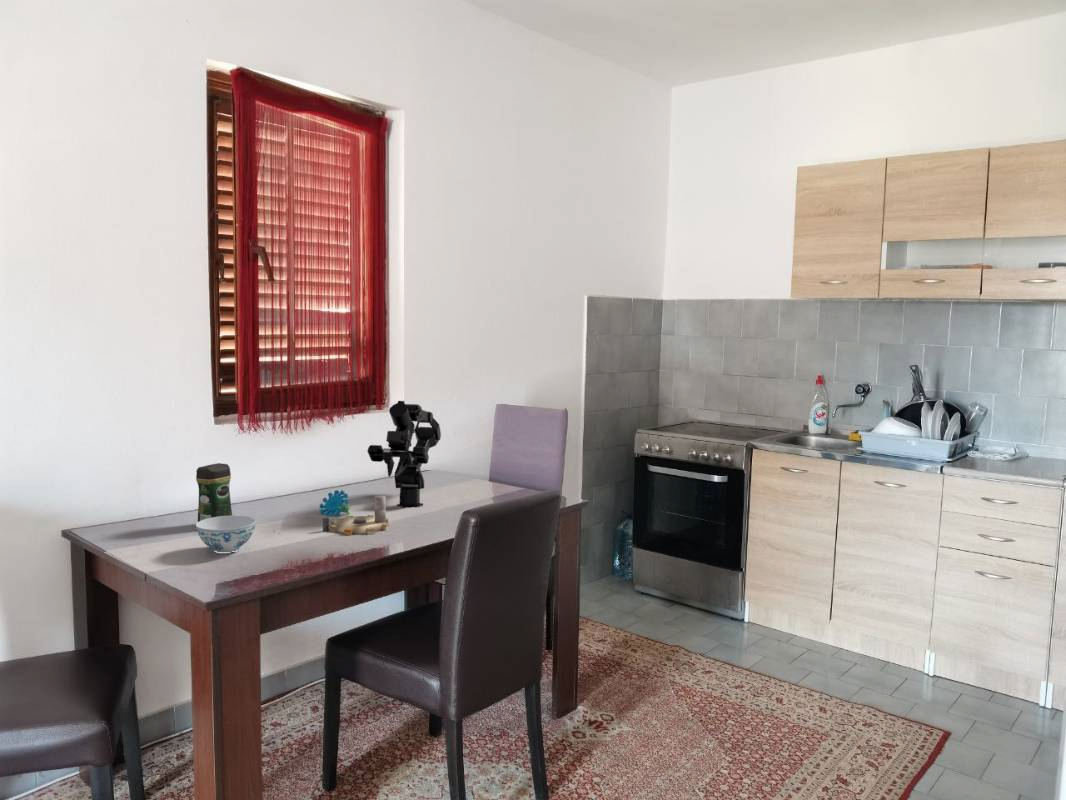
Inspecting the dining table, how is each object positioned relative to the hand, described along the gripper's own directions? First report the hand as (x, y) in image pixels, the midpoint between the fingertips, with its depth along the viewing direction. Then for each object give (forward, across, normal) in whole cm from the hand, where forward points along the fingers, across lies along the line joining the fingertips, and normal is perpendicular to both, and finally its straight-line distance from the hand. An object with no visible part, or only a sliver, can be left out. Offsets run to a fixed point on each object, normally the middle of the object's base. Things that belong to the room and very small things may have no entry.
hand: (392, 476), depth 253 cm
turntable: (+19, -6, 0) cm, 20 cm away
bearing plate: (+19, -6, 0) cm, 20 cm away
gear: (+9, -19, +11) cm, 24 cm away
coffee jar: (+23, -49, -3) cm, 54 cm away
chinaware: (+39, -32, -20) cm, 54 cm away
